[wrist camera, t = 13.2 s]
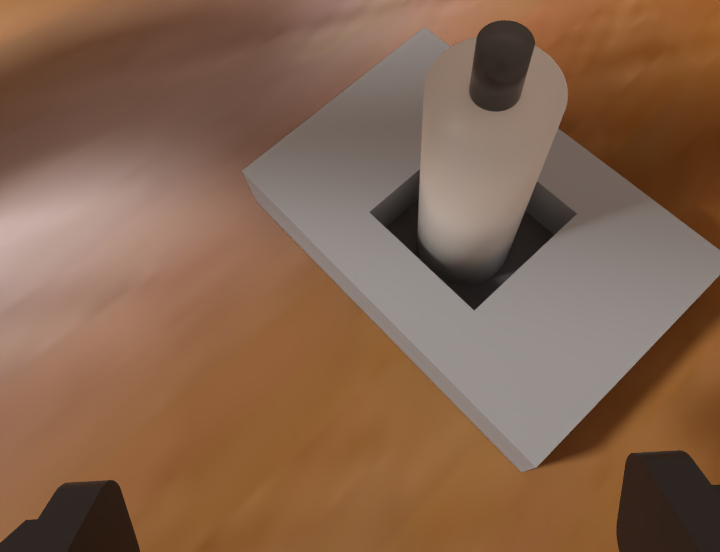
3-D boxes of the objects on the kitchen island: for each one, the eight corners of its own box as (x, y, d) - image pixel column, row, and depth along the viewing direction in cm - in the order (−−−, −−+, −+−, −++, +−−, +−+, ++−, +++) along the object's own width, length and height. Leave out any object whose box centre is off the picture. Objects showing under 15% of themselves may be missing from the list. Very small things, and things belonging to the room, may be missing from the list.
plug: (420, 287, 28) (432, 112, 16) (414, 205, 29) (420, -10, 17) (514, 281, 27) (600, 100, 15) (502, 199, 29) (572, -23, 17)
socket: (256, 202, 30) (241, 171, 27) (422, 68, 33) (424, 26, 30) (521, 472, 25) (536, 467, 22) (699, 286, 27) (733, 260, 24)
